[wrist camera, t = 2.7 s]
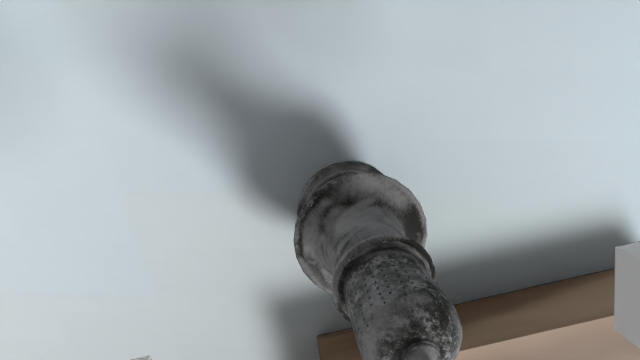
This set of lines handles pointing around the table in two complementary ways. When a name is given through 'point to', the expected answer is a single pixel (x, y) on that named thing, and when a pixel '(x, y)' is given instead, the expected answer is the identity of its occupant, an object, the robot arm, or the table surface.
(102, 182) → the table surface
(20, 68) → the table surface
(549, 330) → the block
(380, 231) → the stone chess piece
